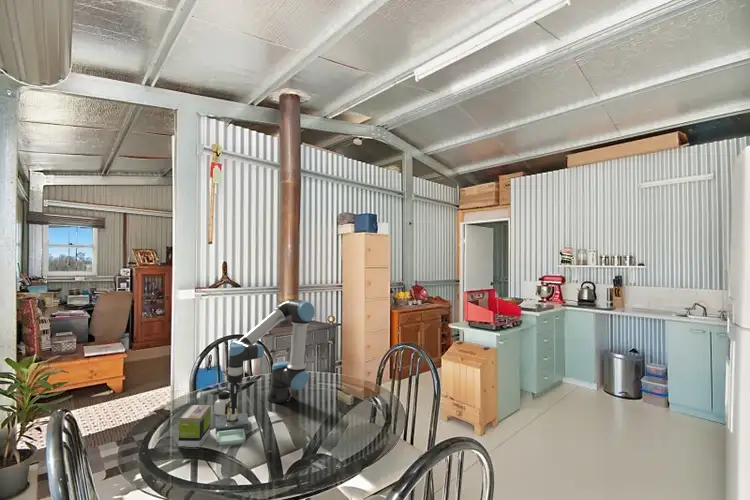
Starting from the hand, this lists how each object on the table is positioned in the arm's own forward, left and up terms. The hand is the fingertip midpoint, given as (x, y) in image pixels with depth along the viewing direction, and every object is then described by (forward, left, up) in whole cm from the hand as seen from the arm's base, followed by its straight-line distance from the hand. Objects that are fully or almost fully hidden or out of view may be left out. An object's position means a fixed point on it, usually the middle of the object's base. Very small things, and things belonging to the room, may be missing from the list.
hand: (232, 417), depth 201 cm
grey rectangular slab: (0, 0, -5) cm, 5 cm away
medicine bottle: (+4, -19, -6) cm, 20 cm away
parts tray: (+1, +14, -5) cm, 15 cm away
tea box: (+18, +10, -6) cm, 21 cm away
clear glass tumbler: (0, 0, -5) cm, 5 cm away
